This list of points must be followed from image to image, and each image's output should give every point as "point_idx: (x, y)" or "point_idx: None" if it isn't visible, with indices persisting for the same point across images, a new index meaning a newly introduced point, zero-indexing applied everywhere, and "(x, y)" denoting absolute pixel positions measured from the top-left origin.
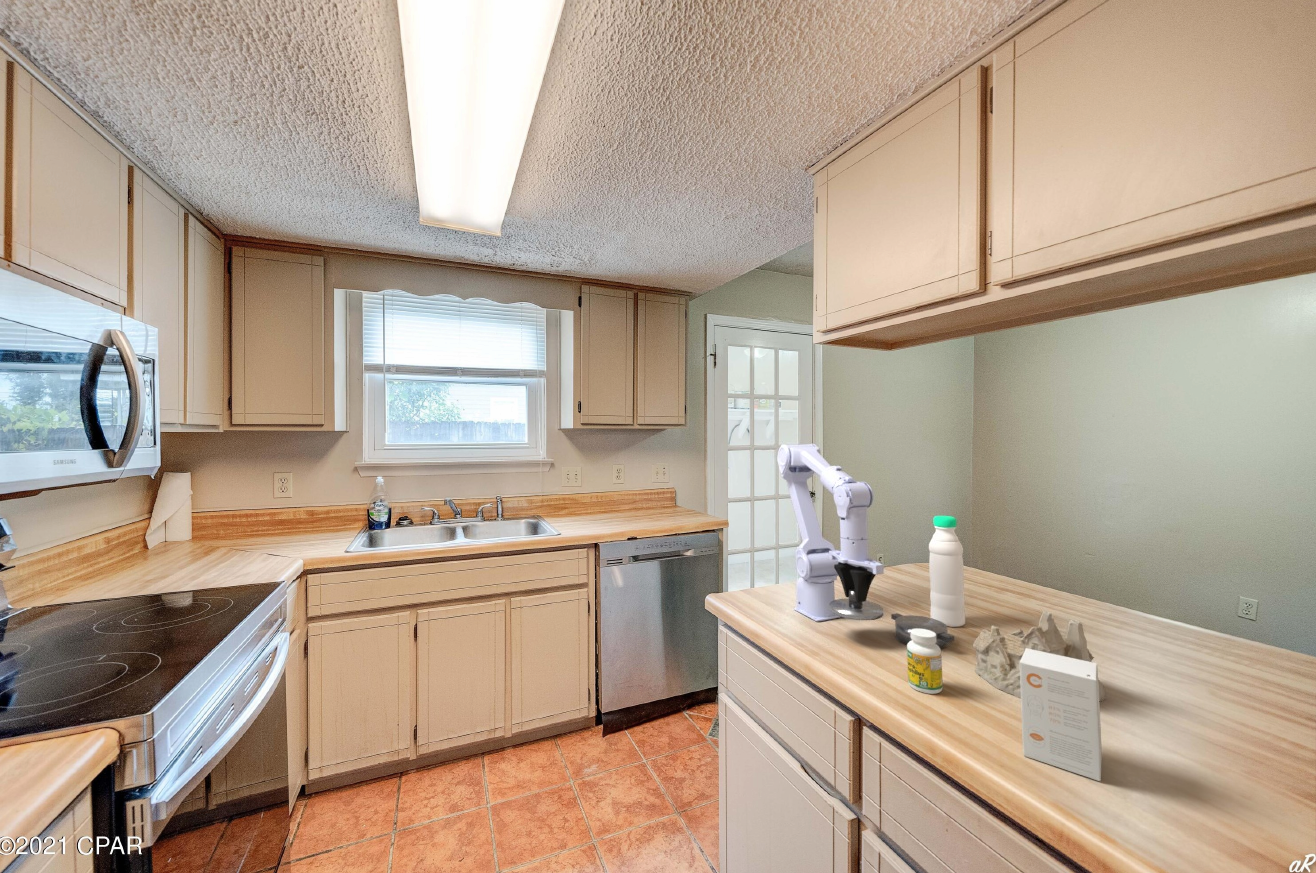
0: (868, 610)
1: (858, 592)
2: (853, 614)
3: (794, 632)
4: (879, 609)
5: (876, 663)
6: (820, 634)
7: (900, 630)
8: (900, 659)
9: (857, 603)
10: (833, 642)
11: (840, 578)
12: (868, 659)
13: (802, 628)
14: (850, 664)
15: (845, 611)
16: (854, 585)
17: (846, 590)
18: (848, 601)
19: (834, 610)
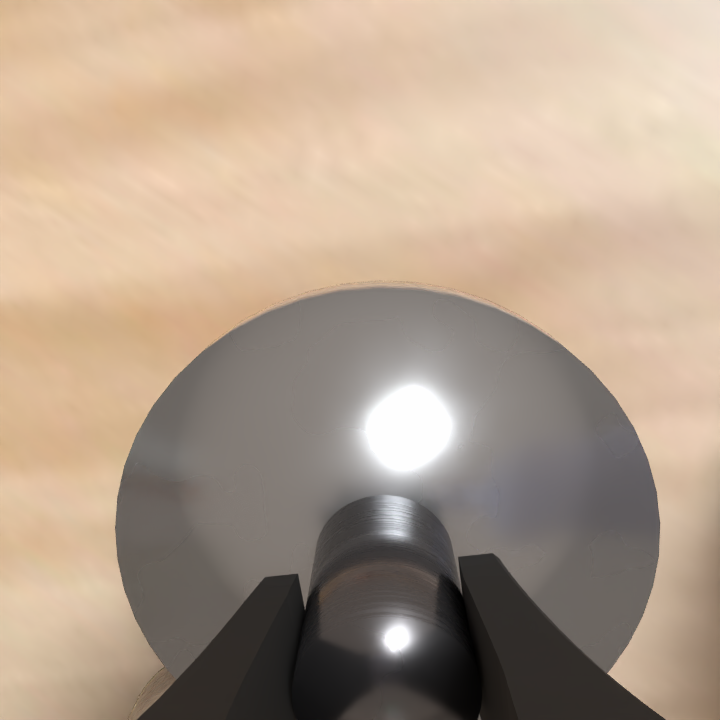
0: None
1: (201, 657)
2: (166, 400)
3: (641, 26)
4: None
5: (9, 322)
6: (528, 222)
7: None
8: (43, 489)
9: (312, 571)
10: (367, 236)
11: (617, 700)
12: (69, 309)
13: (689, 142)
14: (14, 146)
15: (272, 373)
16: (226, 710)
17: (470, 605)
18: (551, 579)
19: (361, 287)
